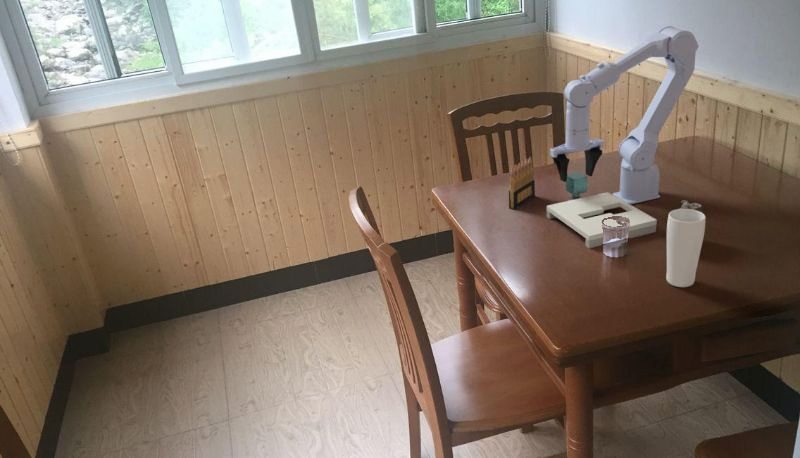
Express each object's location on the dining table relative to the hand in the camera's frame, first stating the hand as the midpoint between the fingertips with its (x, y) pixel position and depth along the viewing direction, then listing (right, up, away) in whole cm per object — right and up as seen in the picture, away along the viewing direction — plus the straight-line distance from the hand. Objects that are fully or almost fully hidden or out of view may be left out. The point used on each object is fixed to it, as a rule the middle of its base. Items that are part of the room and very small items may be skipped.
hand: (576, 177), depth 163 cm
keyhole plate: (+3, -12, -10) cm, 16 cm away
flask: (+18, -17, -23) cm, 34 cm away
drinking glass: (+11, -25, -37) cm, 46 cm away
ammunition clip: (-13, -6, +8) cm, 16 cm away
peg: (+1, -7, +3) cm, 7 cm away
